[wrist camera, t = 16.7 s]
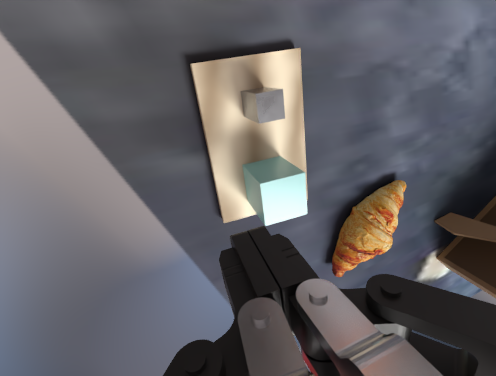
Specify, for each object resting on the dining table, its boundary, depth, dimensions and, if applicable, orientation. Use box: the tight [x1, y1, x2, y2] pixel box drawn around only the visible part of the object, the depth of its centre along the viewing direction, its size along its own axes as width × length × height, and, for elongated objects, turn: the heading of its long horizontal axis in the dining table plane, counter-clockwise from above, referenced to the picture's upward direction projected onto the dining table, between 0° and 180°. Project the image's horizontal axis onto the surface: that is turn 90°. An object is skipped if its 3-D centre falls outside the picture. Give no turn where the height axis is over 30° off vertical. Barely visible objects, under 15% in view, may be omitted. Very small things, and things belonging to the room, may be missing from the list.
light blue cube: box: [242, 156, 307, 226], centre depth 36 cm, size 6×6×8 cm
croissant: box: [332, 180, 406, 277], centre depth 49 cm, size 21×10×8 cm, turn 147°
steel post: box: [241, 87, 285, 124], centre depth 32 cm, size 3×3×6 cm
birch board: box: [190, 48, 308, 223], centre depth 38 cm, size 14×22×2 cm, turn 8°
